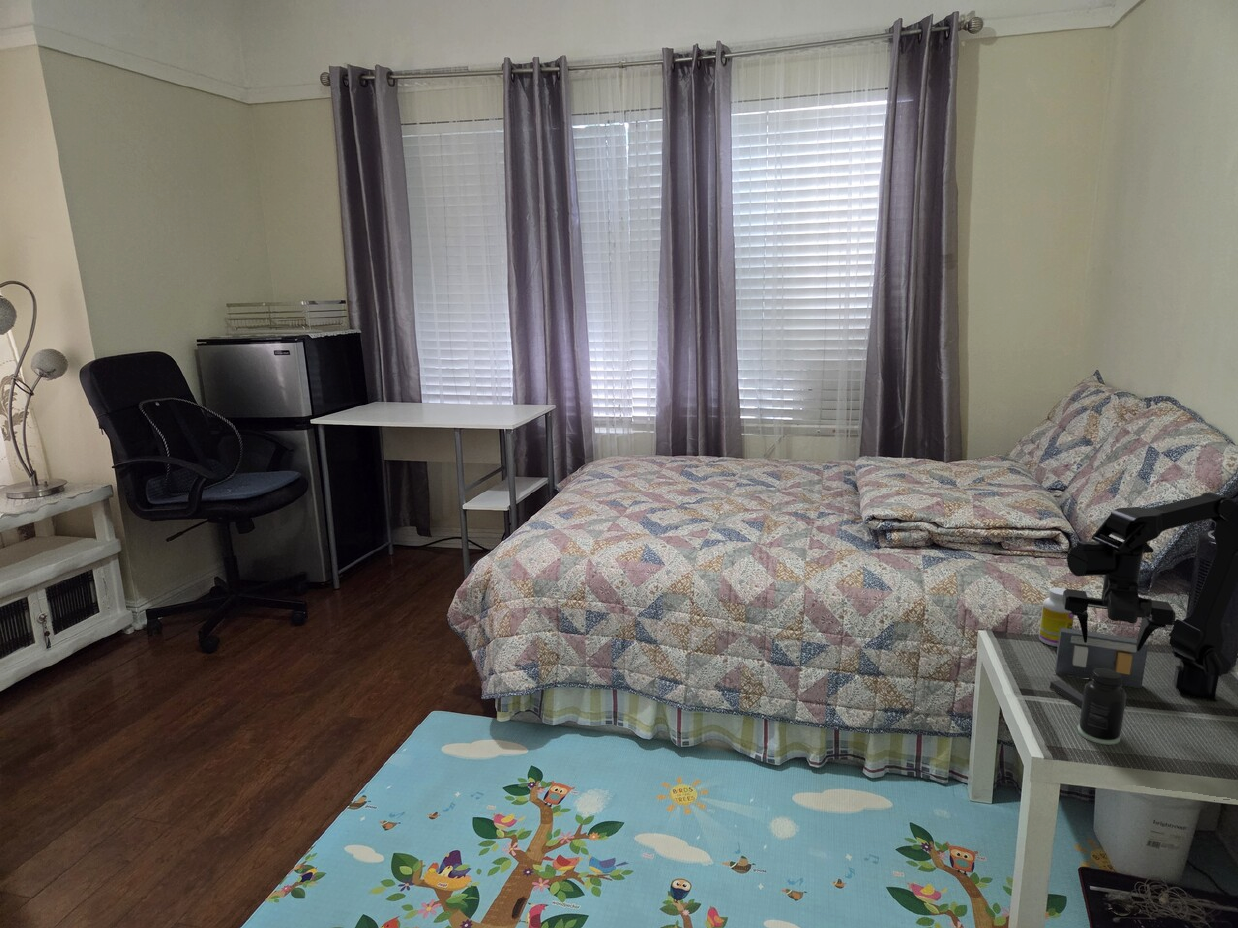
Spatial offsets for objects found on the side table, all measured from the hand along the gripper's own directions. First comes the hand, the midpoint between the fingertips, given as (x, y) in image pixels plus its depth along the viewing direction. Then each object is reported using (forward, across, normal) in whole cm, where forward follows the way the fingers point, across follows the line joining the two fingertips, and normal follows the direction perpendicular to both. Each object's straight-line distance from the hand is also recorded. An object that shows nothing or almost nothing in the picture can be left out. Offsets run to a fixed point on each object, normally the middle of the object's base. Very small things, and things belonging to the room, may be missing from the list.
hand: (1111, 645), depth 162 cm
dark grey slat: (+12, -4, -4) cm, 14 cm away
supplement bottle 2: (+12, -2, -15) cm, 19 cm away
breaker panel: (+12, 0, +10) cm, 15 cm away
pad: (+12, -2, -15) cm, 19 cm away
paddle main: (+9, +4, +7) cm, 12 cm away
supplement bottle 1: (+12, -7, +26) cm, 30 cm away
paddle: (+9, -4, +7) cm, 12 cm away
